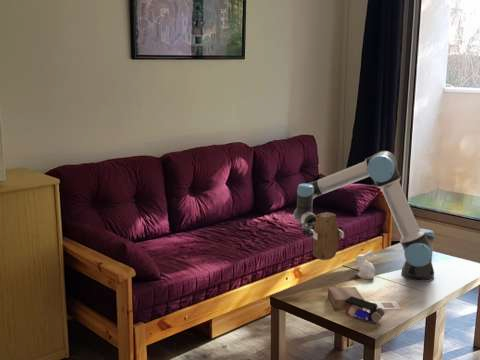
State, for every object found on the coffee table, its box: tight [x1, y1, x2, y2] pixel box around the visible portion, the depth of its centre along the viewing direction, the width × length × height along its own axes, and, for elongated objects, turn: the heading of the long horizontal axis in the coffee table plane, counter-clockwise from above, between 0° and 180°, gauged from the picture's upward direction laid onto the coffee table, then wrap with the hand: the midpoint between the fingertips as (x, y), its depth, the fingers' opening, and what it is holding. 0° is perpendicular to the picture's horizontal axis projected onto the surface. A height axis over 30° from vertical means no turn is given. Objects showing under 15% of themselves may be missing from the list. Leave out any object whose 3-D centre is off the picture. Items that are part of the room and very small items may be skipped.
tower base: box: [327, 286, 364, 312], centre depth 247 cm, size 12×13×5 cm
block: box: [312, 211, 340, 261], centre depth 257 cm, size 11×8×20 cm
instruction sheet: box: [365, 300, 402, 311], centre depth 247 cm, size 15×8×1 cm, turn 94°
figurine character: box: [344, 296, 386, 325], centre depth 234 cm, size 7×8×15 cm
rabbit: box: [355, 249, 376, 280], centre depth 278 cm, size 12×9×12 cm
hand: (329, 235), depth 253 cm, fingers closed on block, 11 cm apart
